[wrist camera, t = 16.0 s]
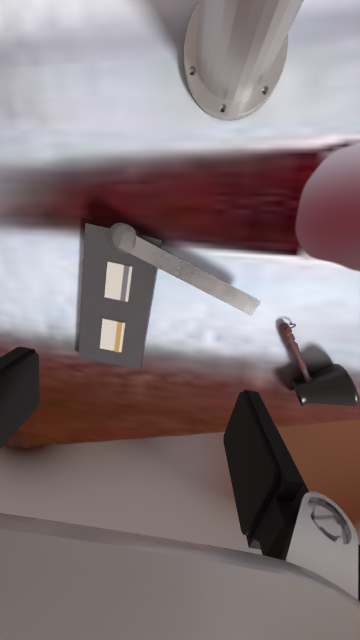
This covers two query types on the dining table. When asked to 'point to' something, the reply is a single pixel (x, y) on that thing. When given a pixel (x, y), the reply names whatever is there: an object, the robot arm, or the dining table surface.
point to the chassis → (114, 300)
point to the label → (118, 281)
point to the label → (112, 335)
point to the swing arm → (177, 267)
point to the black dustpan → (321, 380)
